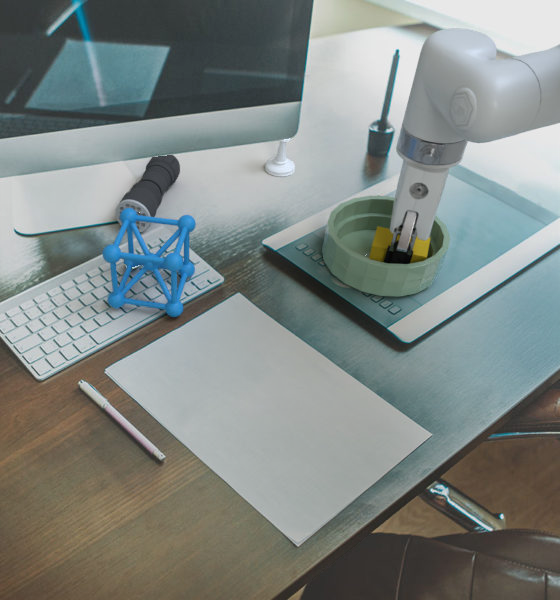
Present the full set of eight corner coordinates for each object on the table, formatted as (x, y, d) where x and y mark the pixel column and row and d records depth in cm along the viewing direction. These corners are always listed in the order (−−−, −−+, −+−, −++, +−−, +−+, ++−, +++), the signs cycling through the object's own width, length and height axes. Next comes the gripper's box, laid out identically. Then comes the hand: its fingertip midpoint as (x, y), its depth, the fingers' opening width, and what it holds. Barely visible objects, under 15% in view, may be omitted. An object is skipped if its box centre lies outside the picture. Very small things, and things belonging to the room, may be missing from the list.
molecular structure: (181, 322, 82) (181, 262, 76) (105, 310, 84) (99, 251, 77) (196, 271, 89) (197, 212, 83) (126, 261, 91) (121, 203, 84)
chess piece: (279, 157, 110) (285, 102, 103) (301, 169, 107) (309, 113, 100) (258, 167, 108) (263, 112, 101) (280, 180, 105) (287, 124, 98)
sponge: (424, 257, 90) (430, 237, 87) (420, 277, 87) (427, 257, 84) (372, 245, 92) (377, 225, 89) (366, 265, 89) (372, 245, 86)
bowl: (443, 240, 93) (454, 209, 89) (431, 312, 83) (443, 280, 79) (334, 217, 98) (340, 186, 94) (310, 282, 87) (316, 250, 84)
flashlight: (151, 174, 107) (150, 145, 104) (182, 180, 106) (183, 151, 102) (116, 228, 97) (113, 198, 93) (150, 235, 95) (149, 205, 92)
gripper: (460, 185, 70) (417, 307, 82) (470, 114, 81) (431, 231, 93) (388, 172, 72) (357, 293, 84) (408, 104, 83) (378, 220, 96)
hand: (396, 259), depth 89 cm, fingers closed on sponge, 4 cm apart
